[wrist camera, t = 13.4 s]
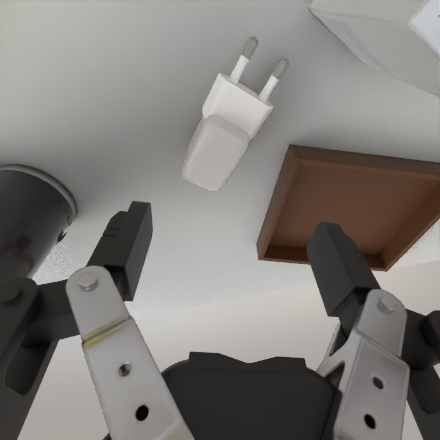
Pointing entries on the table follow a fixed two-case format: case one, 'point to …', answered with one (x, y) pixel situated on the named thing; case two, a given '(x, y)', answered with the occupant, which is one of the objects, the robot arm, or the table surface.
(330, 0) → the small box
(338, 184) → the tray
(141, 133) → the table surface
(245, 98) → the power adapter
